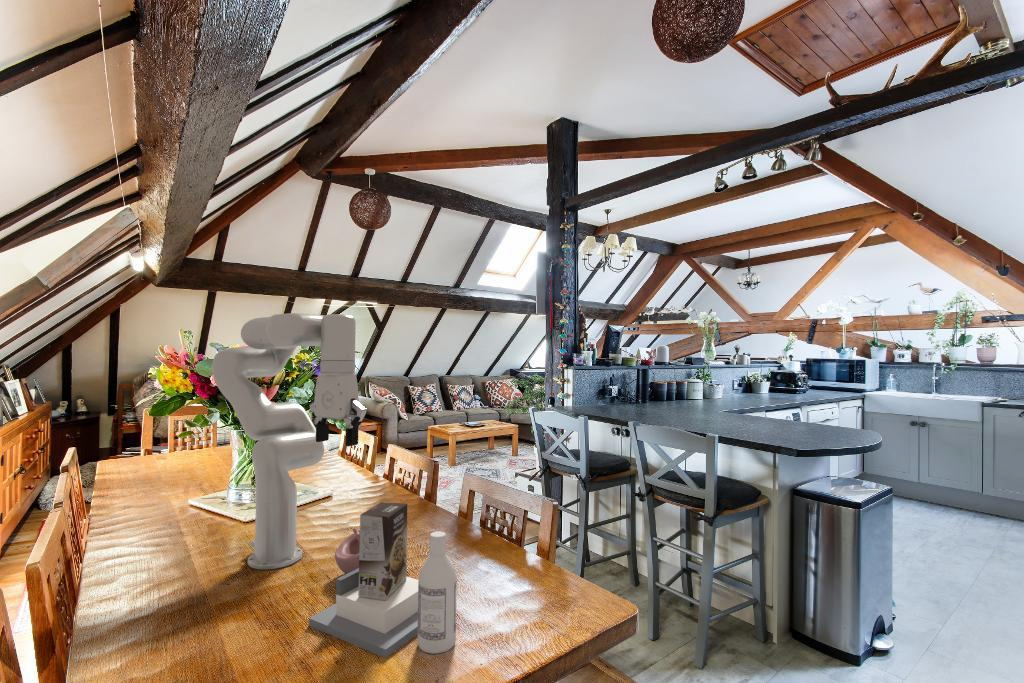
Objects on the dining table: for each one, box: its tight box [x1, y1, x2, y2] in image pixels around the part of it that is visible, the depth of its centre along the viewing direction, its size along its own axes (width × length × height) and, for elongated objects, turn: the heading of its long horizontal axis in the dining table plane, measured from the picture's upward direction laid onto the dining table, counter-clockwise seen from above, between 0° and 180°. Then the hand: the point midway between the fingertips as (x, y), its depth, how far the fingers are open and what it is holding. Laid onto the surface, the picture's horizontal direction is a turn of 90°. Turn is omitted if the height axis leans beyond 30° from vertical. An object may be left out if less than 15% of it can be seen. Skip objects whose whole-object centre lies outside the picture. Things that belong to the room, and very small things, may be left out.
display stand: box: [308, 568, 419, 659], centre depth 101 cm, size 20×20×8 cm
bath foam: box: [417, 530, 458, 655], centre depth 92 cm, size 7×7×20 cm
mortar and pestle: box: [334, 527, 360, 575], centre depth 119 cm, size 12×12×12 cm
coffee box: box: [358, 501, 409, 601], centre depth 101 cm, size 9×6×16 cm
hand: (336, 443), depth 114 cm, fingers open, 9 cm apart
